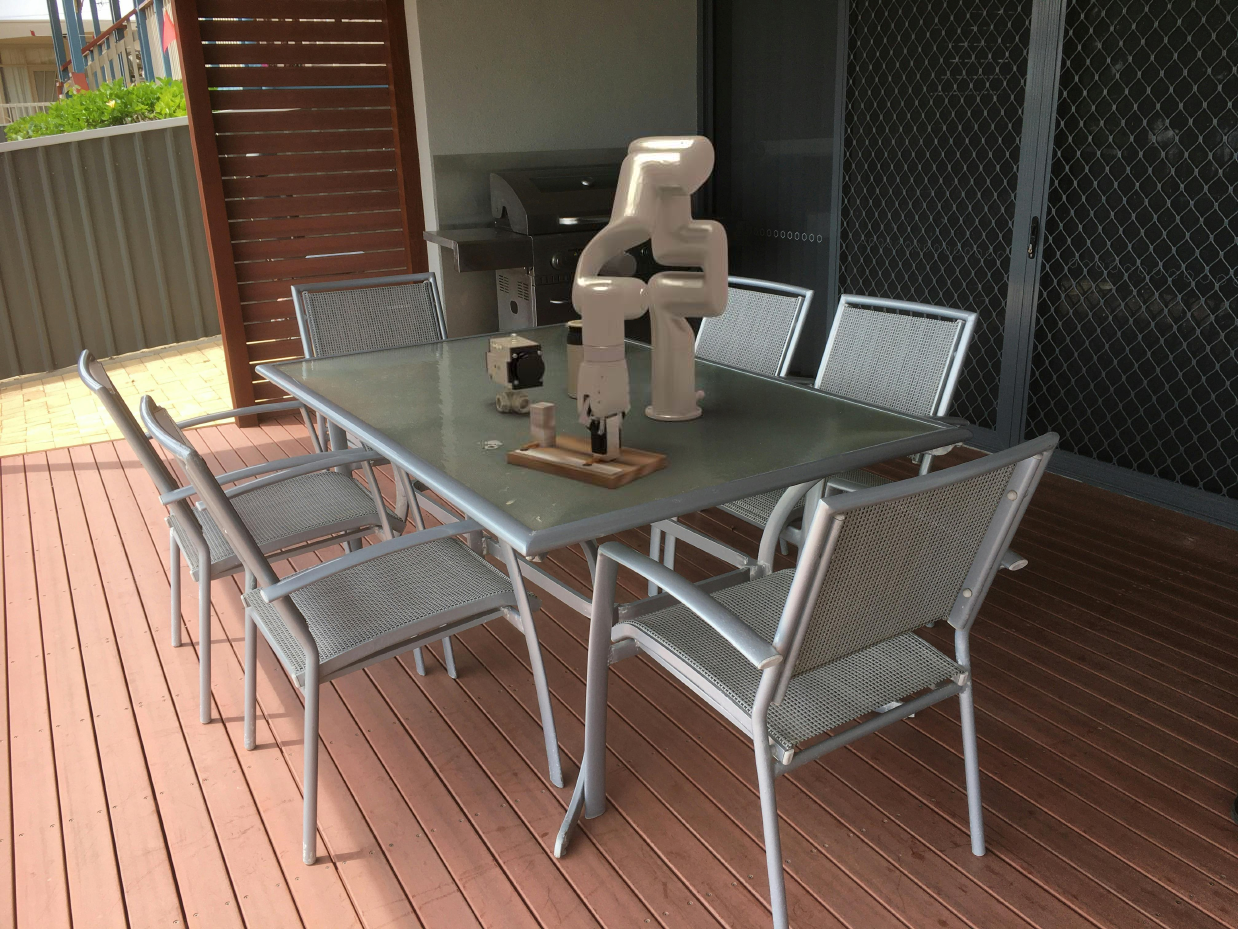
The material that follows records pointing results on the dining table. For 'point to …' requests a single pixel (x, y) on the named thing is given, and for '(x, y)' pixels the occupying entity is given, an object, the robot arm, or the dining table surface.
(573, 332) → the travel mug
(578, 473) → the rule board
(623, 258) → the rubber mallet
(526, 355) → the ball valve
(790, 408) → the dining table surface
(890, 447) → the dining table surface
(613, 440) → the sliding block with pointer
